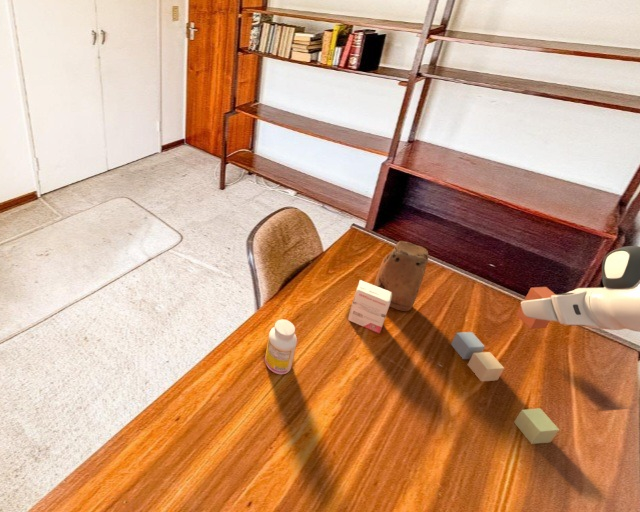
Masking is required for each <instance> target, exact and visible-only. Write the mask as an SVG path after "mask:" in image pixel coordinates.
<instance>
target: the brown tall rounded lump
mask: <svg viewBox="0 0 640 512" xmlns="http://www.w3.org/2000/svg"><path fill="white" fill-rule="evenodd" d="M428 261H429V251H428V249H427V248H425V247H423V246H422V245H421V246H420V245H417V244H414V243H412V242H409V241H404V240H400V241H398V242H397V244H396V245H395V246H394V248H393V249H392V250H391V251H390V252H389V253H388V254H386V255H385V256H384V257H383V259H382V261H381V263H380V265H379V268H378V271H377V274H376V277H375V280H374V284H373V285H374V286H377V287H380V288H382V289H385V290H387V291H390V292H392V298H391V302H390V305H389V308H392V309H394V310H396V311H401V312H408V311H410V310H411V309H412V307H413V306H414V304H415V301H416V300H417V296H418V294H419V290H420V288H421V286H422V282H423V278H424V277H425V273H426V268H427V265H428Z"/></svg>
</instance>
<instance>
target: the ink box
mask: <svg viewBox="0 0 640 512" xmlns="http://www.w3.org/2000/svg"><path fill="white" fill-rule="evenodd" d="M391 298H392V292H390V291H387V290H385V289H382V288H380V287H377V286H374V284H373V283H369V282H367V281H364V280H362V279H359V281H358V284H357V287H356V290H355V293H354V297H353V300H352V303H351V307H350V309H349V313H348V317H347V320H348V321H349V322H352V323H354V324H356V325H358V326H361V327H363V328H365V329H368V330H371V331H373V332H374V333H377V334H381V331H382V328H383V326H384V323H385V320H386V317H387V314H388V311H389V309H390V306H389V305H390V302H391Z"/></svg>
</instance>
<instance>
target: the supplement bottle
mask: <svg viewBox="0 0 640 512" xmlns="http://www.w3.org/2000/svg"><path fill="white" fill-rule="evenodd" d="M295 332H296V327H295V325H294V324H293V322H291V321H290V320H288V319H283V318H282V319H278V320H276V321H275V324H274V326H273V327H272V328H271V329H270V330H269V333H268V338H267V344H266V349H265V350H266V351H265V354H264V355H265V357H264V360H265V361H264V363H265V365H266V368H268V370H270V372H273V373H274V374H278V375H286V374H287V373H289V372H290V371H291V370H292V367H293V363H294V359H295V358H294V357H295V355H296V354H295V353H296V349H297V345H298V338H297V335H296V333H295Z"/></svg>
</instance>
